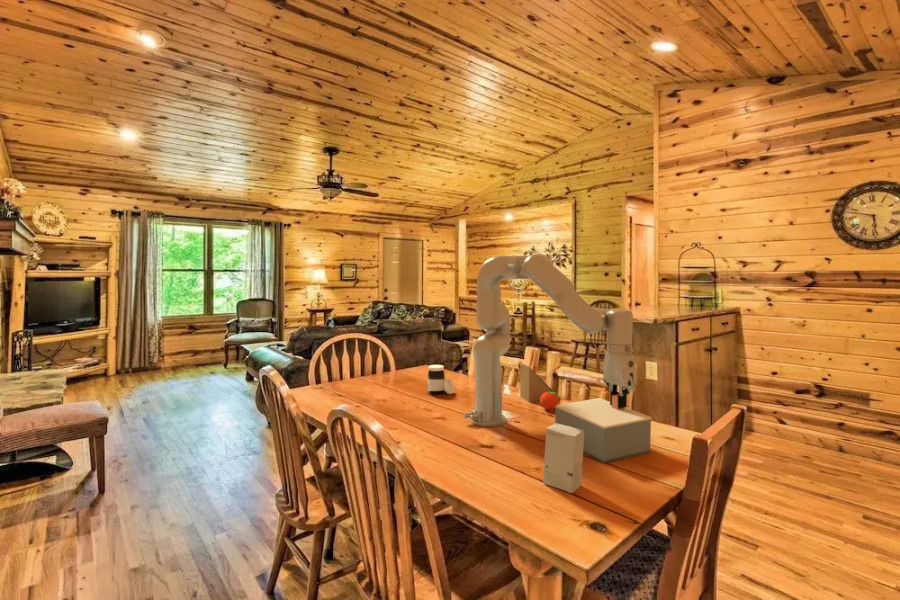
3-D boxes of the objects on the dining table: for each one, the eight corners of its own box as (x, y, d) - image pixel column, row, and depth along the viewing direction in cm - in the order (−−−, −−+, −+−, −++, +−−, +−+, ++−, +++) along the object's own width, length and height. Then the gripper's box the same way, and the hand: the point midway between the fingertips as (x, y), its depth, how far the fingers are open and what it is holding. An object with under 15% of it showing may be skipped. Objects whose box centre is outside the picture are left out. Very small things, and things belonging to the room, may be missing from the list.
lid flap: (604, 429, 127) (604, 413, 127) (555, 407, 147) (555, 393, 147) (651, 419, 135) (652, 404, 135) (599, 399, 155) (599, 386, 155)
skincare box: (543, 484, 117) (543, 428, 116) (554, 475, 121) (554, 421, 120) (573, 494, 111) (574, 435, 110) (584, 485, 116) (584, 428, 115)
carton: (603, 463, 128) (604, 429, 127) (555, 437, 148) (555, 407, 147) (650, 452, 136) (650, 419, 135) (598, 428, 156) (598, 400, 155)
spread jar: (427, 389, 207) (426, 364, 206) (451, 388, 209) (451, 363, 208) (428, 396, 195) (428, 370, 195) (454, 395, 197) (454, 369, 196)
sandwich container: (562, 399, 190) (562, 364, 189) (529, 403, 186) (529, 367, 185) (551, 393, 198) (552, 360, 197) (520, 397, 194) (520, 362, 193)
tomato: (559, 407, 180) (559, 389, 179) (562, 412, 173) (562, 394, 172) (539, 406, 180) (539, 389, 180) (540, 412, 174) (541, 394, 173)
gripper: (648, 352, 137) (647, 411, 138) (609, 343, 151) (608, 397, 153) (630, 354, 134) (628, 415, 135) (592, 345, 148) (591, 400, 150)
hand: (618, 405), depth 144 cm, fingers closed on lid flap, 2 cm apart
